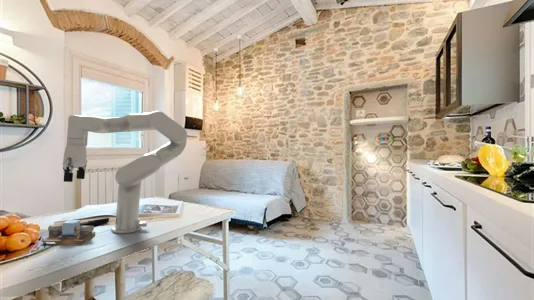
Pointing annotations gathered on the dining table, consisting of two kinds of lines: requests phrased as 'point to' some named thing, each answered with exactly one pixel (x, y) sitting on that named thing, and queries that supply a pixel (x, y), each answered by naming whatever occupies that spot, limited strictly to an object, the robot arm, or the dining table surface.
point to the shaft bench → (57, 237)
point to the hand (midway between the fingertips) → (74, 180)
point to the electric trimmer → (95, 222)
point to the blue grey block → (71, 228)
